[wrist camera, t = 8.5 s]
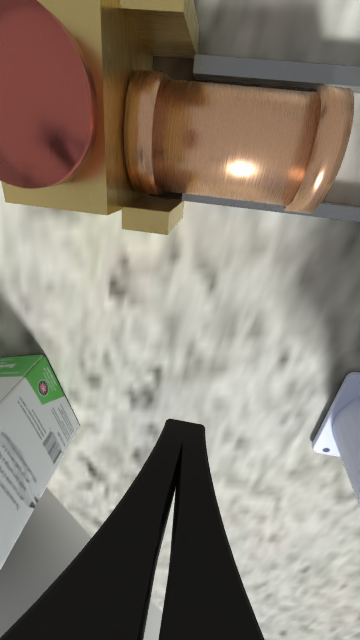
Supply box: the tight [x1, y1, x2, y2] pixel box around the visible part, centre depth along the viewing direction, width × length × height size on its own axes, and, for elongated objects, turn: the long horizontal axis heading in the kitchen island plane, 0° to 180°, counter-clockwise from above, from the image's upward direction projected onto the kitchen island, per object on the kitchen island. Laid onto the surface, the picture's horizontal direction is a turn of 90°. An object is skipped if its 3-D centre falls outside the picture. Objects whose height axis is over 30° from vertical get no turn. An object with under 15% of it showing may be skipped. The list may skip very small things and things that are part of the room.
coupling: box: [123, 70, 354, 214], centre depth 12 cm, size 8×4×4 cm, turn 85°
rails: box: [182, 54, 360, 222], centre depth 13 cm, size 11×6×1 cm, turn 85°
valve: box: [0, 0, 200, 235], centre depth 11 cm, size 9×8×8 cm
